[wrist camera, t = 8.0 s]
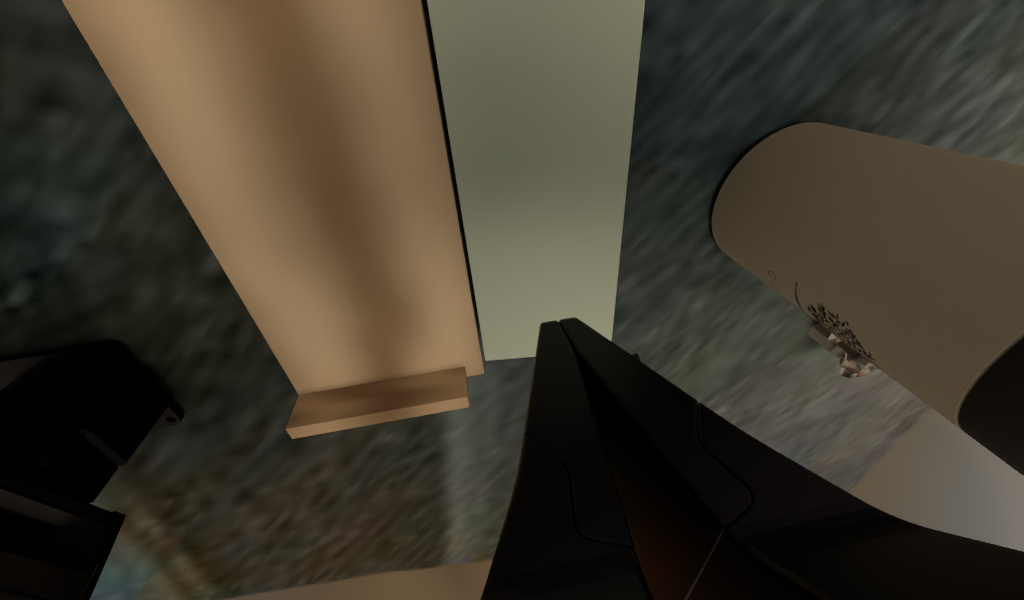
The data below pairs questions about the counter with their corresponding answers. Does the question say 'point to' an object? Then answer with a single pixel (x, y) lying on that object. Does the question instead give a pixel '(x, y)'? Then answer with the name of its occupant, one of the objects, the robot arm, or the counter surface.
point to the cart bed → (311, 186)
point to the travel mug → (895, 262)
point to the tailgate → (540, 155)
